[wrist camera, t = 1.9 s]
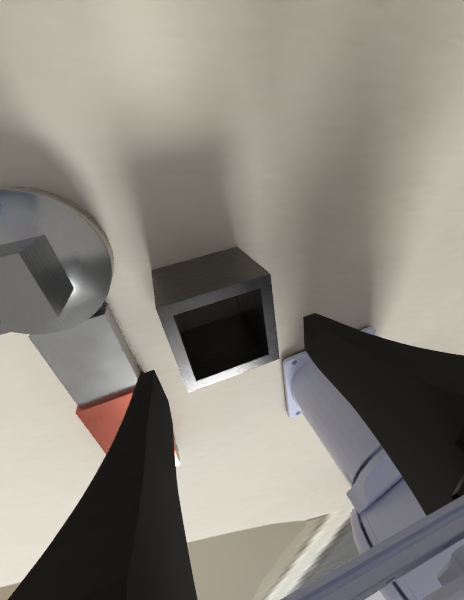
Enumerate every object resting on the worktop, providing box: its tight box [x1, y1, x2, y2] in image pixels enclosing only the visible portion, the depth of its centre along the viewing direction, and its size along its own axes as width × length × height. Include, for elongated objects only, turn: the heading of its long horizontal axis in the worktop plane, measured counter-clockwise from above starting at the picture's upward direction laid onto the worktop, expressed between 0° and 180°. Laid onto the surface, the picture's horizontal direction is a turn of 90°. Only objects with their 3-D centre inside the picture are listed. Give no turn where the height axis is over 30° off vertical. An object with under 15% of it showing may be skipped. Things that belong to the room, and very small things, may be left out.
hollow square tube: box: [152, 247, 279, 393], centre depth 16 cm, size 6×6×5 cm
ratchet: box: [0, 187, 180, 466], centre depth 16 cm, size 7×23×5 cm, turn 10°
